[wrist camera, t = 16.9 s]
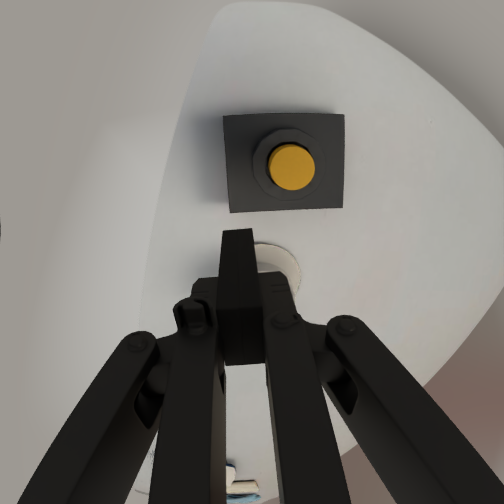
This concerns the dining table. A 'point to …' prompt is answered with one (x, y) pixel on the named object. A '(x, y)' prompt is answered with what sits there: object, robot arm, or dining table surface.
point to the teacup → (278, 264)
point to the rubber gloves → (242, 487)
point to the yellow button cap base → (261, 147)
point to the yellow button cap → (291, 167)
